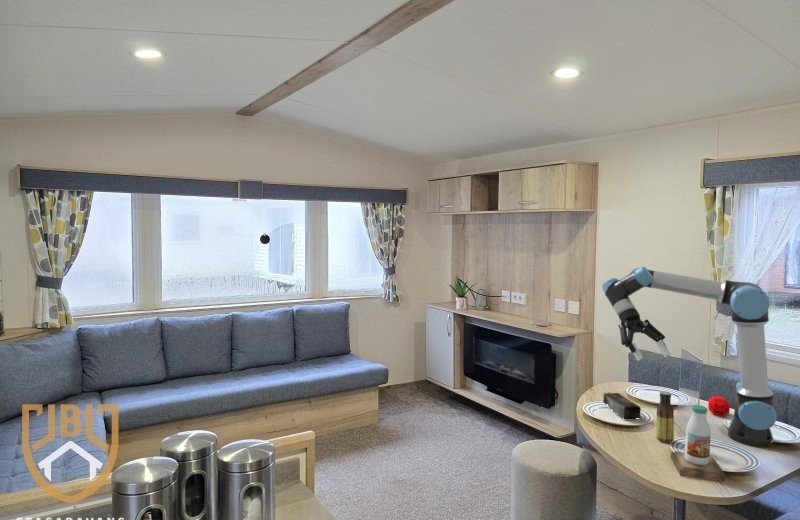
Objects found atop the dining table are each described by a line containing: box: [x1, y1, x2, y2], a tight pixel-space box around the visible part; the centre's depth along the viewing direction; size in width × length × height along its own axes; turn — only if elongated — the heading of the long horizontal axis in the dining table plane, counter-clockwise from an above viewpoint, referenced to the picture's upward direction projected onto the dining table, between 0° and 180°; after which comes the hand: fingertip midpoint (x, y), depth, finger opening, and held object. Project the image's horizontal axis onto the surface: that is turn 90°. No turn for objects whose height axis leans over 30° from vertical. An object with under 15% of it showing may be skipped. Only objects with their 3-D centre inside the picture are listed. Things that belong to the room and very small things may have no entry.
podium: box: [670, 450, 727, 482], centre depth 185 cm, size 14×14×3 cm
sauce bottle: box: [655, 390, 675, 444], centre depth 207 cm, size 7×6×20 cm
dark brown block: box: [602, 391, 642, 419], centre depth 237 cm, size 8×19×7 cm, turn 6°
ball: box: [707, 395, 731, 417], centre depth 234 cm, size 8×8×8 cm
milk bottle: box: [684, 404, 712, 465], centre depth 184 cm, size 8×8×20 cm
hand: (654, 357), depth 199 cm, fingers open, 13 cm apart
